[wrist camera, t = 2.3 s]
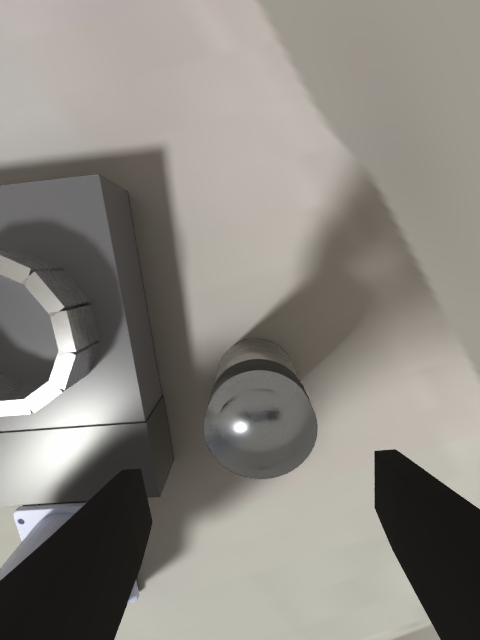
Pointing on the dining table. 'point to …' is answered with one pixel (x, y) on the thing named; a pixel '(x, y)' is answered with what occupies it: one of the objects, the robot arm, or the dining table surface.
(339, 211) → the dining table surface
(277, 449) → the lens
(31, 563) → the robot arm
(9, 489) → the camera body
